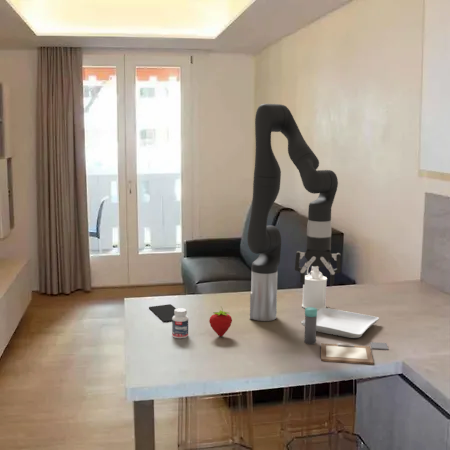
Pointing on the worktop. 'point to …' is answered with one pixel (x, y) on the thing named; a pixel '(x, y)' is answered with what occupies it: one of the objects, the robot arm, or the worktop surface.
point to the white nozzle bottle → (314, 289)
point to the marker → (310, 325)
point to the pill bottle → (180, 323)
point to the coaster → (379, 345)
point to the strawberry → (220, 322)
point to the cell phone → (163, 312)
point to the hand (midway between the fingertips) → (317, 284)
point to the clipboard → (346, 353)
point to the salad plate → (343, 322)
